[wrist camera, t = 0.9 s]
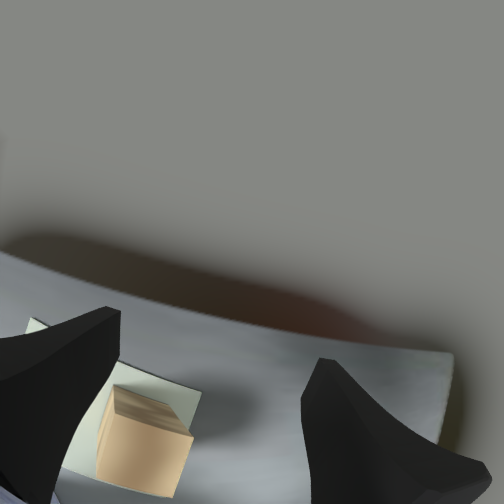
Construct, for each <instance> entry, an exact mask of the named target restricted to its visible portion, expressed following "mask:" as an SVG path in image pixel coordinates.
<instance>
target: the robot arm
mask: <svg viewBox="0 0 504 504" xmlns="http://www.w3.org/2000/svg"><path fill="white" fill-rule="evenodd" d="M120 320H121V311H120V310H116V309H113V308H110V307H107V306H105V307H102V308H99V309H96V310H93V311H91V312H88V313H86V314H83V315H81V316H78V317H76V318H73V319H71V320H68V321H66V322H63V323H60V324H57V325H54V326H51V327H48V328H45V329H42V330H39V331H35V332H32V333H28V334H23V335H19V336H14V337H7V338H0V504H60V503H59V501H58V499H57V497H56V495H55V493H54V488H55V484H56V481H57V478H58V475H59V472H60V469H61V466H62V463H63V461H64V458H65V455H66V453H67V450H68V448H69V445H70V443H71V441H72V439H73V436H74V434H75V432H76V430H77V428H78V426H79V424H80V422H81V420H82V418H83V417H84V415H85V414H86V412H87V411H88V409H89V407H90V406H91V404H92V403H93V401H94V400H95V398H96V397H97V395H98V394H99V392H100V391H101V389H102V388H103V386H104V385H105V383H106V382H107V380H108V378H109V377H110V375H111V373H112V371H113V369H114V367H115V364H116V362H117V360H118V358H119V356H120ZM301 422H302V429H303V434H304V440H305V446H306V451H307V457H308V463H309V469H310V477H311V504H471V503H472V502H473V501H475V500H476V499H477V498H478V497H479V496H480V495H481V494H482V493H483V492H485V491H486V489H487V488H488V487H489V486H490V484H491V482H492V477H491V475H490V473H489V471H488V470H487V468H486V466H485V465H484V463H483V462H481V461H477V460H474V459H471V458H467V457H464V456H461V455H458V454H456V453H453V452H451V451H449V450H447V449H444V448H442V447H440V446H438V445H436V444H434V443H432V442H430V441H429V440H427V439H425V438H423V437H422V436H420V435H418V434H417V433H415V432H414V431H412V430H411V429H409V428H408V427H406V426H405V425H404V424H402V423H401V422H399V421H398V420H397V419H395V418H394V417H393V416H392V415H391V414H389V413H388V412H387V411H386V410H385V409H384V408H383V407H381V406H380V405H379V404H378V403H377V402H376V401H375V400H374V399H373V398H372V397H371V396H370V395H369V394H368V393H367V392H366V391H365V390H364V389H363V388H362V387H361V386H360V385H359V384H358V383H357V382H356V381H355V380H354V379H353V378H352V377H351V376H350V375H349V374H348V373H347V372H346V371H345V369H344V368H343V367H342V366H341V365H339V364H338V363H337V362H336V361H335V360H330V359H324V358H319V360H318V362H317V364H316V366H315V369H314V371H313V373H312V375H311V377H310V380H309V382H308V384H307V386H306V388H305V390H304V392H303V394H302V396H301Z"/></svg>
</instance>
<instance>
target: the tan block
mask: <svg viewBox="0 0 504 504" xmlns="http://www.w3.org/2000/svg"><path fill="white" fill-rule="evenodd" d="M193 439H194V437H193V436H192V435H191V433H190V432H189V431H188V430H187V428H186V427H185V426H184V424H183V423H182V422H181V421H180V419H179V418H178V417H177V415H176V414H175V413H174V411H173V410H172V409H171V407H170V406H169V405H168V404H165V403H162V402H159V401H156V400H153V399H151V398H148V397H145V396H142V395H139V394H137V393H134V392H131V391H129V390H126V389H124V388H121V387H119V386H116V385H114V384H113V386H112V389H111V392H110V395H109V398H108V401H107V404H106V408H105V411H104V414H103V417H102V421H101V424H100V427H99V431H98V436H97V457H96V478H97V479H100V480H103V481H106V482H110V483H113V484H116V485H120V486H123V487H127V488H130V489H134V490H138V491H142V492H146V493H151V494H155V495H160V496H165V497H170V498H173V495H174V492H175V489H176V486H177V484H178V481H179V478H180V475H181V473H182V470H183V467H184V464H185V462H186V459H187V456H188V453H189V450H190V448H191V445H192V442H193Z"/></svg>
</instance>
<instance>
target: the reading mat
mask: <svg viewBox="0 0 504 504" xmlns="http://www.w3.org/2000/svg"><path fill="white" fill-rule="evenodd" d="M45 328H48V327H47V326H45V325H44V324H42V323H40V322H38V321H37V320H35V319H33V318H31V319H30V321H29V324H28V327H27V330H26V333H25V334H28V333H32V332H35V331H39V330H42V329H45ZM113 384H114V385H116V386H119V387H121V388H124V389H126V390H129V391H131V392H134V393H137V394H139V395H142V396H145V397H148V398H151V399H153V400H156V401H159V402H162V403H165V404H168V405H169V406H170V407H171V409H172V410H173V411H174V413H175V414H176V415H177V417H178V418H179V419H180V421H181V422H182V423H183V424H184V426H185V427H186V428H187V430H188V431H189V428H190V425H191V422H192V420H193V417H194V414H195V411H196V408H197V405H198V403H199V400H200V397H201V394H202V392H200V391H196V390H193V389H190V388H187V387H184V386H181V385H178V384H175V383H172V382H170V381H167V380H164V379H161V378H158V377H156V376H153V375H150V374H148V373H145V372H143V371H140V370H138V369H135V368H133V367H130V366H128V365H125V364H123V363H121V362H118V361H117V362H116V364H115V367H114V369H113V371H112V373H111V375H110V377H109V378H108V380H107V382H106V383H105V385H104V386H103V388H102V389H101V391H100V392H99V394H98V395H97V397H96V398H95V400H94V401H93V403H92V404H91V406H90V407H89V409H88V411H87V412H86V414H85V415H84V417H83V418H82V420H81V422H80V424H79V426H78V428H77V430H76V432H75V434H74V436H73V439H72V441H71V443H70V445H69V448H68V450H67V453H66V455H65V458H64V461H63V463H62V466H61V467H63V468H66V469H68V470H71V471H73V472H76V473H78V474H81V475H84V476H86V477H89V478H92V479H95V480H98V481H101V482H104V483H107V484H110V485H114V486H117V487H120V488H124V489H128V490H131V491H135V492H139V493H143V494H148V495H152V496H157V497H162V498H165V496H160V495H155V494H151V493H146V492H142V491H138V490H134V489H130V488H127V487H123V486H120V485H116V484H113V483H110V482H106V481H103V480H100V479H97V478H96V457H97V436H98V431H99V427H100V424H101V421H102V417H103V414H104V411H105V408H106V404H107V401H108V398H109V395H110V392H111V389H112V386H113Z"/></svg>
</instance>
